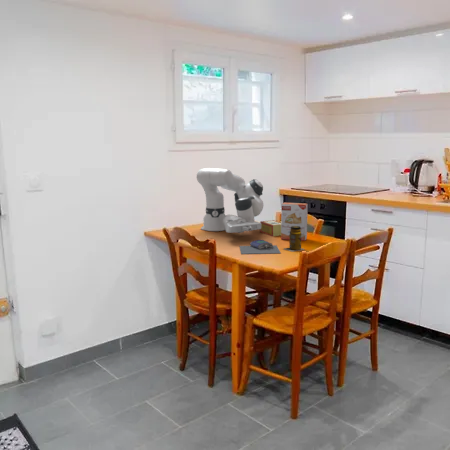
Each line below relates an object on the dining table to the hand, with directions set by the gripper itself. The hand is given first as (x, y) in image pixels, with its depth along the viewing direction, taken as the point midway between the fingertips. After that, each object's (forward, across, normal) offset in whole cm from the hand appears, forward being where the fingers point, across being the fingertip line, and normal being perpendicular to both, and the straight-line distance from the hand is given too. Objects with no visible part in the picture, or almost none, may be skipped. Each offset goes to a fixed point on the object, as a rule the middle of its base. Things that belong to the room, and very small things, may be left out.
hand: (250, 229), depth 261 cm
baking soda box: (-26, -25, -5) cm, 37 cm away
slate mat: (+16, +3, -8) cm, 18 cm away
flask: (+7, 0, -6) cm, 9 cm away
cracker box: (+3, -27, -8) cm, 28 cm away
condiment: (+23, -14, -8) cm, 28 cm away
